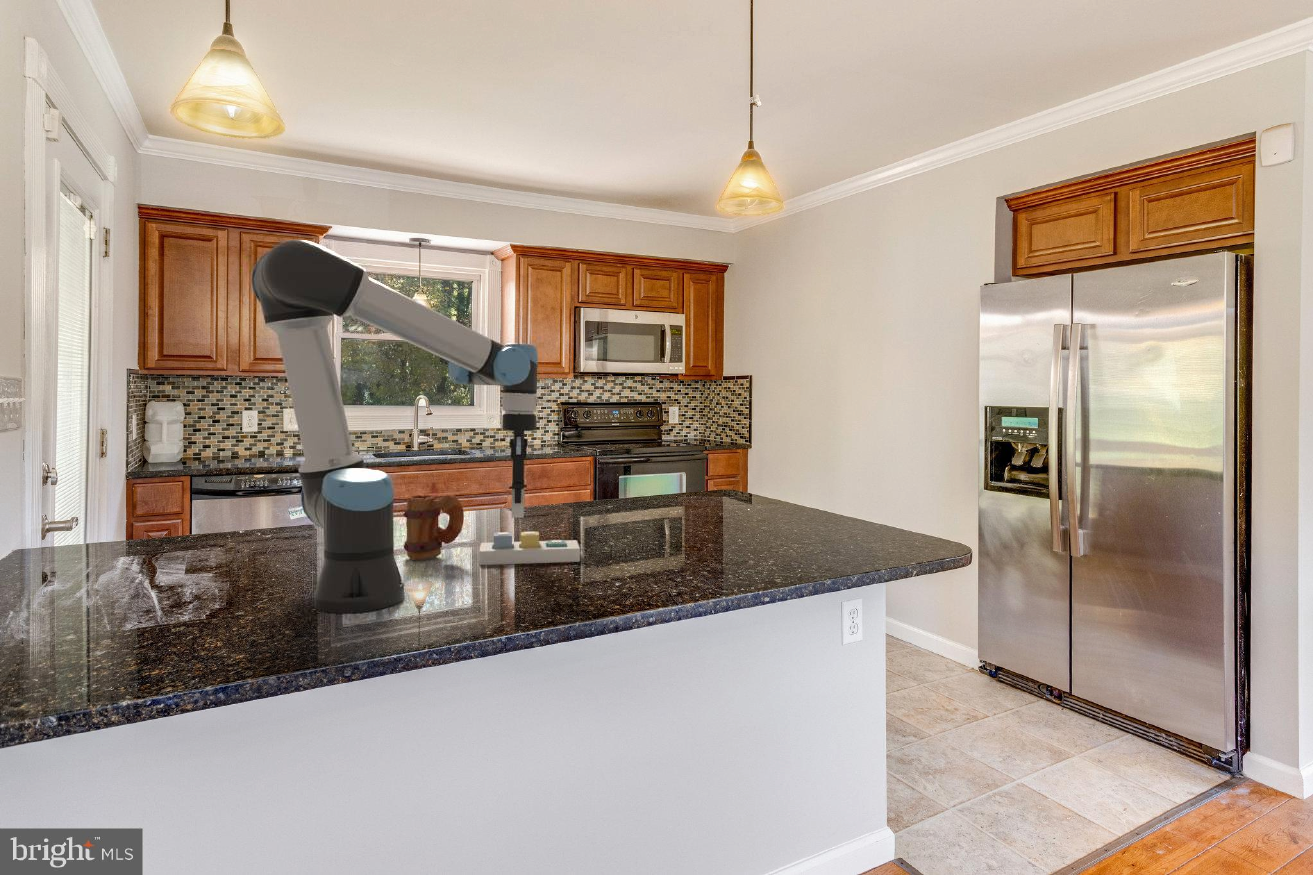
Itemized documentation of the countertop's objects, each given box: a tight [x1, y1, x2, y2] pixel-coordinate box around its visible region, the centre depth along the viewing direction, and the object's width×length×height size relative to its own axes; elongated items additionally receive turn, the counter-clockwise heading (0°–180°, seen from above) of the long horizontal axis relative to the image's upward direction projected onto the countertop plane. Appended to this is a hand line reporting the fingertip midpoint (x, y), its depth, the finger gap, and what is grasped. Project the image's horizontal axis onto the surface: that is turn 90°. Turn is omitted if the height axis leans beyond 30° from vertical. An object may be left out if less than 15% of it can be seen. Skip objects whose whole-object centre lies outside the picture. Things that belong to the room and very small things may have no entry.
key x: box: [520, 531, 540, 548], centre depth 164 cm, size 4×4×3 cm
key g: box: [546, 539, 566, 547], centre depth 166 cm, size 4×4×3 cm
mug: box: [402, 493, 465, 561], centre depth 162 cm, size 15×8×15 cm, turn 73°
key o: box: [493, 531, 513, 549], centre depth 163 cm, size 4×4×3 cm
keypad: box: [478, 539, 581, 566], centre depth 164 cm, size 22×9×3 cm, turn 101°
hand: (517, 517), depth 163 cm, fingers closed
